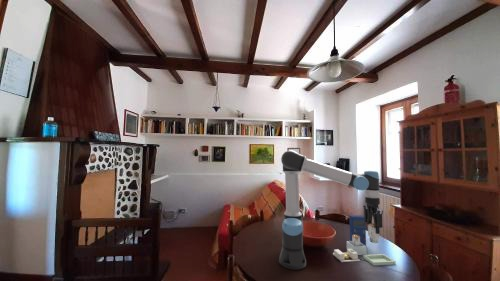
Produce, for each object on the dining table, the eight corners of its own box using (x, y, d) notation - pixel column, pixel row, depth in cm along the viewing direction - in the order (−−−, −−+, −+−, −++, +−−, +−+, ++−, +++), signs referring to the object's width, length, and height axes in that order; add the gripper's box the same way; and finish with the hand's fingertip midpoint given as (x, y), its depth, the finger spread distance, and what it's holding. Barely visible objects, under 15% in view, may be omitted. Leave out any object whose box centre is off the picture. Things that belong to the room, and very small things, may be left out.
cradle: (341, 262, 118) (341, 254, 118) (332, 254, 128) (332, 247, 128) (360, 262, 119) (359, 253, 120) (349, 254, 129) (349, 246, 129)
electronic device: (352, 247, 139) (352, 216, 141) (349, 243, 144) (348, 214, 146) (366, 247, 139) (366, 217, 140) (362, 244, 144) (362, 215, 145)
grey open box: (354, 256, 126) (354, 246, 127) (346, 250, 134) (346, 241, 135) (366, 255, 127) (366, 246, 127) (358, 249, 135) (358, 240, 136)
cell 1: (355, 253, 128) (354, 236, 129) (351, 250, 133) (350, 233, 133) (361, 253, 129) (361, 236, 130) (357, 250, 133) (357, 233, 134)
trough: (373, 266, 114) (373, 262, 115) (363, 258, 123) (363, 255, 123) (395, 265, 116) (395, 261, 116) (384, 257, 125) (383, 254, 125)
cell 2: (373, 243, 118) (372, 224, 118) (368, 240, 122) (367, 222, 123) (380, 242, 118) (379, 224, 119) (374, 239, 122) (373, 221, 123)
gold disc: (344, 259, 121) (344, 256, 122) (341, 256, 125) (341, 253, 125) (350, 259, 122) (350, 256, 122) (346, 256, 125) (346, 253, 126)
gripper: (389, 199, 114) (391, 243, 112) (367, 194, 131) (369, 231, 129) (377, 200, 113) (378, 243, 111) (357, 194, 130) (358, 232, 128)
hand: (373, 237), depth 120 cm, fingers closed on cell 2, 4 cm apart
